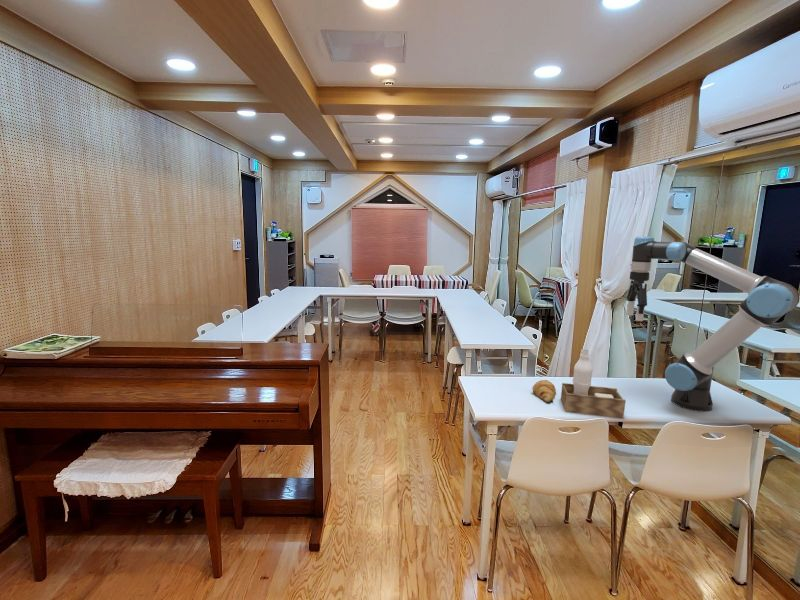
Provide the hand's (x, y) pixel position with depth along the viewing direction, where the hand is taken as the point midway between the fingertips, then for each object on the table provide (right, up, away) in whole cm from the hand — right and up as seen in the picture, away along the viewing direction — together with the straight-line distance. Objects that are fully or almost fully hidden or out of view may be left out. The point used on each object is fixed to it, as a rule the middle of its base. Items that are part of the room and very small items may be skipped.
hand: (634, 317), depth 187 cm
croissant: (-40, -36, +3) cm, 54 cm away
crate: (-26, -39, -13) cm, 49 cm away
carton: (-21, -38, -15) cm, 46 cm away
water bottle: (-31, -38, -13) cm, 50 cm away
